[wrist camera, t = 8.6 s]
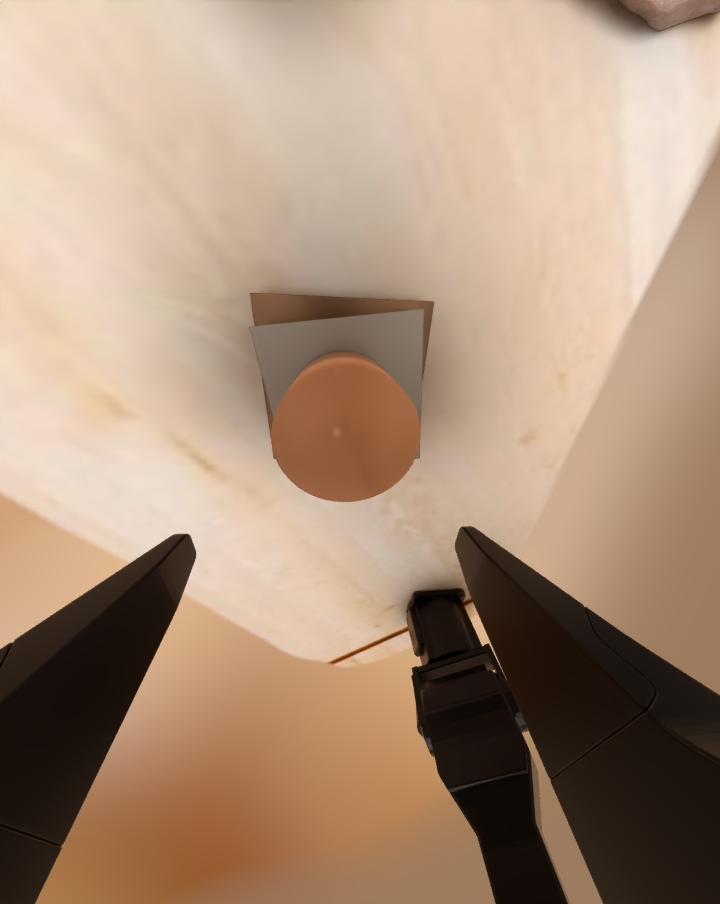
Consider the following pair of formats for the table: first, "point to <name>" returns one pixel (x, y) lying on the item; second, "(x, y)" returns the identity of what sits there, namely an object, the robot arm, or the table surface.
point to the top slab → (343, 349)
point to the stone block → (670, 10)
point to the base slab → (328, 314)
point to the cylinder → (345, 429)
